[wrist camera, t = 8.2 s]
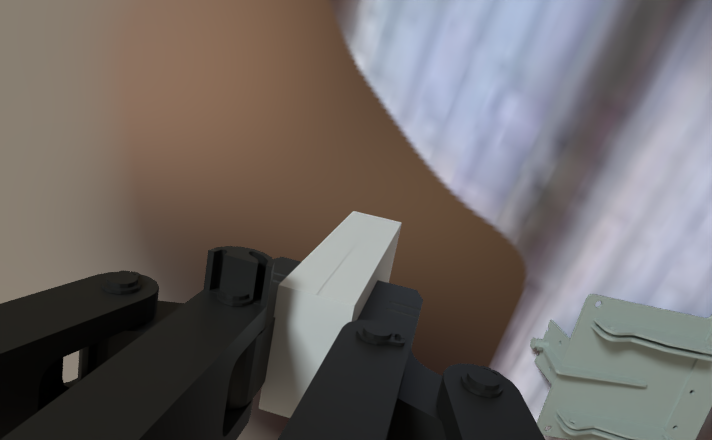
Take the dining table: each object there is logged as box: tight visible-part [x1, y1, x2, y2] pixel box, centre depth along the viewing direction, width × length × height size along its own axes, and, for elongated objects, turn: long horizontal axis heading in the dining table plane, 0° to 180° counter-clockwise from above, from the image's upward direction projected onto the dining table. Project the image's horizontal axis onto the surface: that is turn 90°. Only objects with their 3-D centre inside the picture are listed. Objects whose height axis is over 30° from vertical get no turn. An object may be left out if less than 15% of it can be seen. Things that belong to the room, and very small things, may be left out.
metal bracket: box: [530, 294, 712, 440], centre depth 40 cm, size 14×6×15 cm
